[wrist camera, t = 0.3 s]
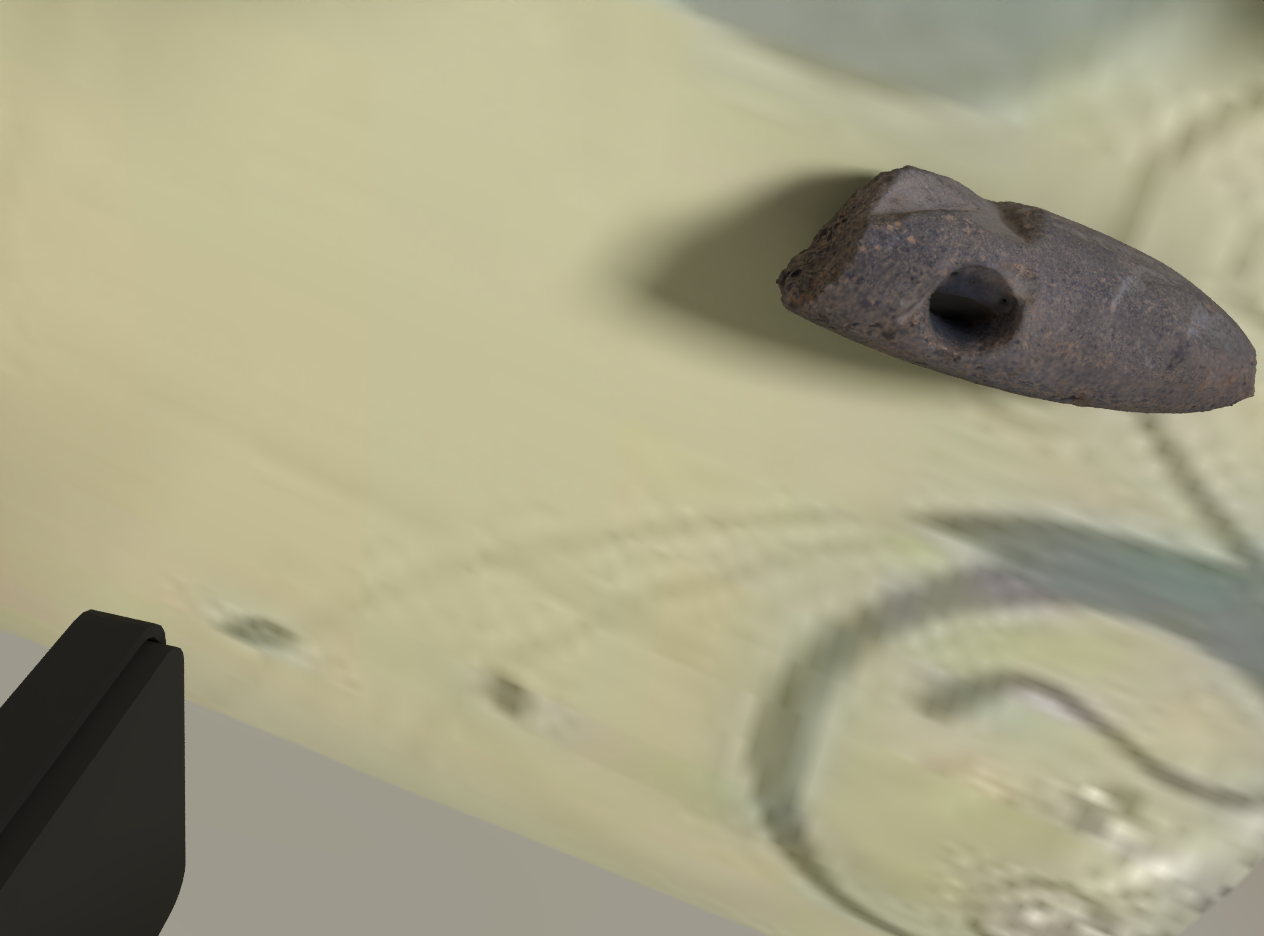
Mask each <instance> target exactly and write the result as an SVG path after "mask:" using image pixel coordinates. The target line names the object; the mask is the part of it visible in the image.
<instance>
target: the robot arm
mask: <svg viewBox="0 0 1264 936" xmlns="http://www.w3.org/2000/svg"><path fill="white" fill-rule="evenodd" d="M184 736H185V733H184V657H183V652H182V650H181V648H178V647H174V646H170V645H166V639H165V632H164V630H163V628H162V626H161V625H158V624H155V623H150V622H146V621H141V620H137V619H132V618H128V617H123V616H119V615H114V614H110V613H105V612H101V611H96V610H92V609H91V610H88V611H86V612H83V613H82V614H81V615H80V616H79V617H78V618H77V619H76V620H75V621H74V622H73V623H72V624H71V625H70V626H69V628H68V629H67V630H66V631H65V632H64V633H63V635H62V636H61V637H60V638H59V639H58V641H57V642H56V643H55V644H54V645H53V646H52V648H51V649H50V650H49V651H48V652H47V653H46V655H45V656H44V657H43V658H42V659H41V661H40V662H39V663H38V664H37V665H36V666H35V668H34V669H33V670H32V671H31V672H30V674H29V675H28V676H27V677H26V678H25V680H24V681H23V682H22V683H21V684H20V685H19V686H18V688H17V689H16V690H15V691H14V692H13V693H12V695H11V696H10V697H9V698H8V699H7V701H6V702H5V703H4V704H3V705H2V707H1V708H0V936H158V935H159V933H160V932H161V930H162V928H163V926H164V924H165V922H166V921H167V919H168V917H169V915H170V913H171V911H172V909H173V907H174V905H175V902H176V900H177V897H178V895H179V892H180V889H181V885H182V882H183V877H184V872H185V742H184V741H185V737H184Z"/></svg>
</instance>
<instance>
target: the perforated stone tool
mask: <svg viewBox="0 0 1264 936" xmlns="http://www.w3.org/2000/svg"><path fill="white" fill-rule="evenodd" d="M776 283H778V284H779V287H780V290H781V294H782V297H781V300H782V303H783V306H785V308H786V309H788V310H789V311H791V312H793V313H795V314H797V315H799V316H801V317H803V318H805V319H807V320H809V321H811V322H813V323H816V324H817V325H820V326H822V327H824V328H826V329H828V330H831V331H833V332H836V333H838V334H840V335H842V336H844V337H846V338H849V339H851V340H853V341H856V342H858V343H860V344H863V345H866V346H868V347H871V348H873V349H876V350H878V351H881V352H884V353H886V354H889V355H891V356H894V357H896V358H899V359H902V360H905V361H908V362H910V363H913V364H916V365H919V366H923V367H925V368H929V369H932V370H935V371H938V372H941V373H944V374H947V375H950V376H954V377H958V378H962V379H964V380H968V381H970V382H974V383H976V384H981V385H985V386H988V387H993V388H997V389H1000V390H1004V391H1007V392H1010V393H1015V394H1019V395H1023V396H1028V397H1033V398H1039V399H1043V400H1049V401H1053V402H1059V403H1066V404H1073V405H1076V406H1080V407H1094V408H1104V409H1110V410H1118V411H1126V412H1128V411H1130V412H1142V413H1172V414H1174V413H1179V414H1181V413H1192V412H1204V411H1210V410H1213V409H1217V408H1222V407H1226V406H1232V405H1233V404H1236V403H1237V402H1239V401H1241V400H1243V399H1246V398H1248V397H1253V396H1254V392H1255V390H1254V389H1255V388H1254V384H1255V374H1256V364H1257V360H1256V351H1255V349H1254V347H1253V345H1252V344H1251V342H1250V341H1249V339H1248V338H1247V336H1246V335H1245V333H1244V332H1243V331H1242V329H1241V328H1240V327H1239V326H1238V325H1237V323H1236V322H1235V321H1234V320H1233V319H1232V318H1231V317H1230V316H1229V315H1228V314H1227V313H1226V312H1225V311H1224V310H1223V309H1222V308H1221V307H1220V306H1218V305H1217V304H1216V303H1215V302H1214V301H1213V300H1212V299H1211V298H1210V297H1208V296H1207V295H1206V294H1205V293H1203V292H1202V291H1201V290H1200V289H1199V288H1197V287H1196V286H1195V285H1194V284H1192V283H1191V282H1190V281H1188V280H1187V279H1186V278H1184V277H1183V276H1182V275H1180V274H1179V273H1177V272H1176V271H1174V270H1173V269H1172V268H1170V267H1168V266H1167V265H1165V264H1163V263H1162V262H1160V261H1158V260H1156V259H1154V258H1152V257H1150V256H1148V255H1147V254H1145V253H1143V252H1141V251H1139V250H1137V249H1135V248H1133V247H1131V246H1129V245H1127V244H1124V243H1122V242H1120V241H1118V240H1116V239H1114V238H1112V237H1110V236H1107V235H1105V234H1103V233H1100V232H1098V231H1096V230H1093V229H1091V228H1088V227H1086V226H1084V225H1082V224H1079V223H1076V222H1074V221H1071V220H1069V219H1066V218H1063V217H1061V216H1059V215H1056V214H1053V213H1051V212H1049V211H1046V210H1043V209H1041V208H1037V207H1032V206H1028V205H1024V204H1020V203H1014V202H998V203H997V202H994V201H990V200H986V199H983V198H981V197H979V196H978V195H976V194H975V193H974V192H973V191H972V190H970V189H969V188H967V187H965V186H964V185H962V184H961V183H959V182H957V181H955V180H953V179H951V178H948V177H946V176H942V175H938V174H935V173H933V172H929V171H926V170H922V169H919V168H916V167H913V166H908V165H907V166H904V167H903V168H900V169H894V170H892V171H890V172H881V173H880V174H879V175H878V176H876V177H875V178H874V179H873V180H872V181H870V183H869V184H868V186H867V187H861V188H859V189H858V190H857V191H856V192H855V194H854V195H853V197H851V198H850V199H849V201H848V202H847V203H846V204H845V205H844V206H843V207H842V208H841V209H840V210H839V212H837V214H836V215H835V216H834V217H833V218H832V219H831V220H830V221H829V222H828V223H827V224H826V225H824V226H823V228H822V229H821V230H820V231H819V232H818V234H817V235H816V236H815V237H814V239H813V242H812V245H811V246H810V247H809V248H808V249H806V250H803V251H802V252H800V253H799V254H798V255H797V256H795V257H793V258H792V259H791V261H790V263H789V264H788V267H787V269H784V270H783V271H782V272H781V274H780V276H779V279H776Z"/></svg>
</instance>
